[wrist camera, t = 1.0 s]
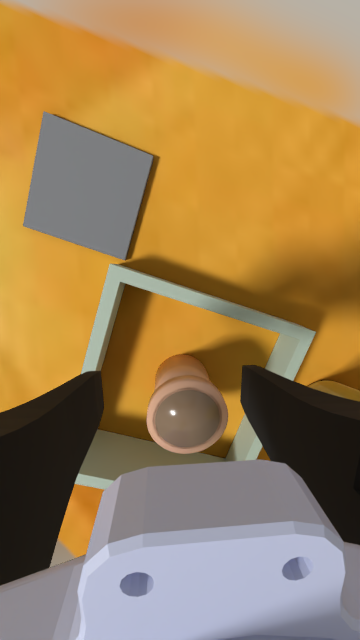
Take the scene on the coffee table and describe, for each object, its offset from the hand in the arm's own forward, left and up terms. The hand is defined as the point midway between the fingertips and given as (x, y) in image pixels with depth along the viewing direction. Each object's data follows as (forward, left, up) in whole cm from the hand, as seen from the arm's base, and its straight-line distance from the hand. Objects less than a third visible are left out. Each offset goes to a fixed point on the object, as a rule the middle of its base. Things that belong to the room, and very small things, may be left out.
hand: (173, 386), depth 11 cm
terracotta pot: (-3, +4, -10) cm, 11 cm away
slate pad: (+9, -9, -10) cm, 16 cm away
